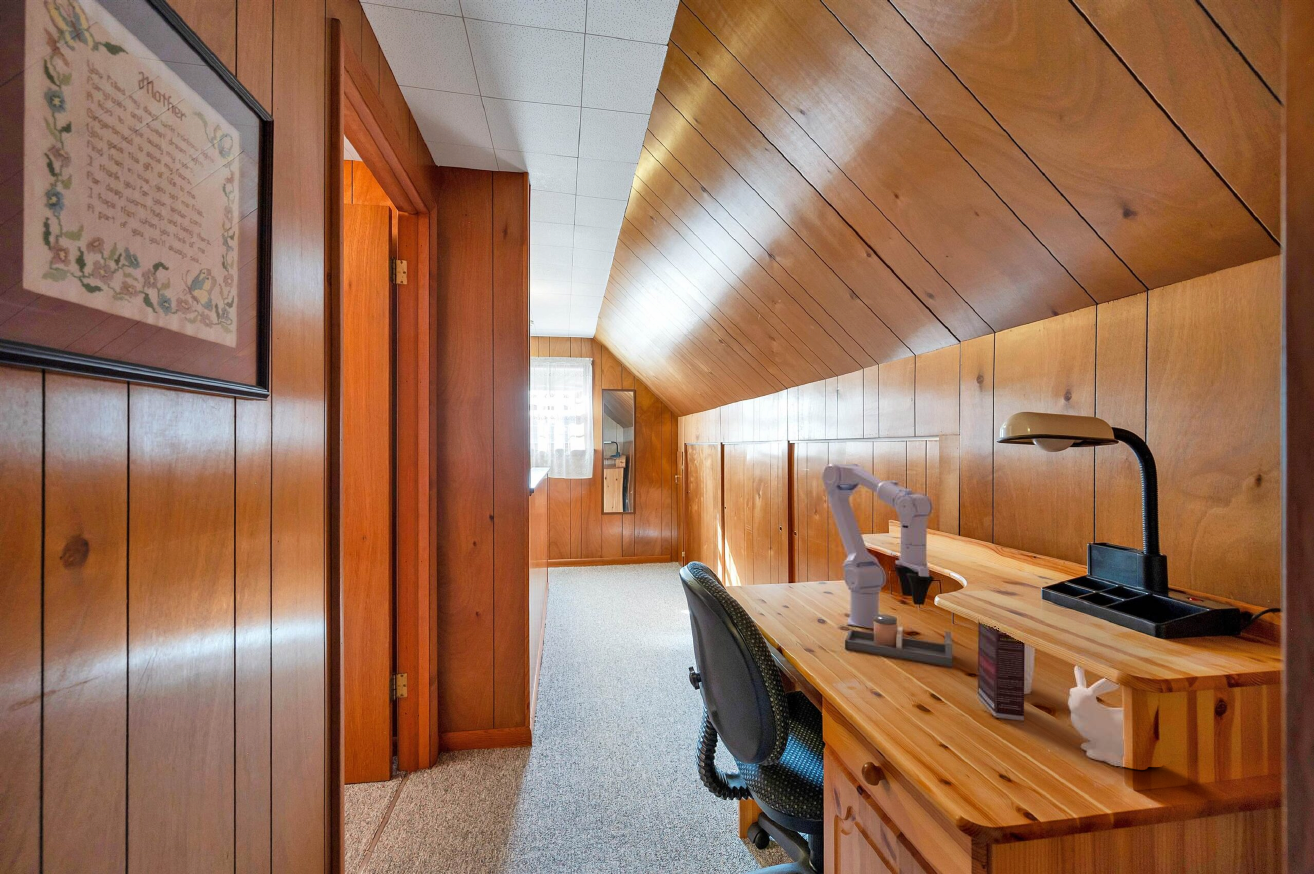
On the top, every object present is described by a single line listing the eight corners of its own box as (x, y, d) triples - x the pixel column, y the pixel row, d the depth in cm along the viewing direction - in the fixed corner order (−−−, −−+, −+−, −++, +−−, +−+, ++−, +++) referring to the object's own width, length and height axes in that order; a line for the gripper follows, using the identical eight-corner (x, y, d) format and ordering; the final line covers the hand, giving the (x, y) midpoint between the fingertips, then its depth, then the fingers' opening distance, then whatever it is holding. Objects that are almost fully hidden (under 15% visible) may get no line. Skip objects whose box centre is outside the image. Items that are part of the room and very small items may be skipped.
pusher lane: (850, 637, 135) (850, 616, 135) (950, 653, 125) (950, 631, 125) (845, 648, 126) (845, 627, 127) (952, 667, 117) (952, 644, 117)
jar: (874, 642, 130) (874, 612, 130) (897, 645, 128) (897, 616, 128) (872, 648, 126) (872, 618, 126) (896, 652, 124) (896, 621, 124)
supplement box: (1026, 722, 93) (1026, 628, 94) (995, 718, 94) (995, 626, 95) (1004, 699, 102) (1005, 614, 102) (976, 696, 103) (976, 612, 103)
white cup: (1020, 680, 111) (1020, 630, 111) (1044, 697, 103) (1044, 644, 103) (979, 677, 112) (980, 628, 112) (1000, 694, 104) (1000, 642, 104)
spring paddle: (897, 643, 129) (898, 626, 129) (902, 644, 129) (902, 627, 129) (896, 653, 123) (896, 635, 123) (901, 654, 122) (901, 636, 122)
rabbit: (1069, 757, 83) (1069, 677, 83) (1064, 731, 90) (1064, 658, 91) (1178, 784, 76) (1177, 698, 76) (1161, 754, 84) (1161, 675, 84)
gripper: (887, 538, 140) (886, 591, 139) (906, 548, 125) (906, 607, 125) (915, 539, 139) (915, 592, 139) (938, 549, 125) (938, 609, 124)
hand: (912, 599), depth 132 cm, fingers open, 7 cm apart
